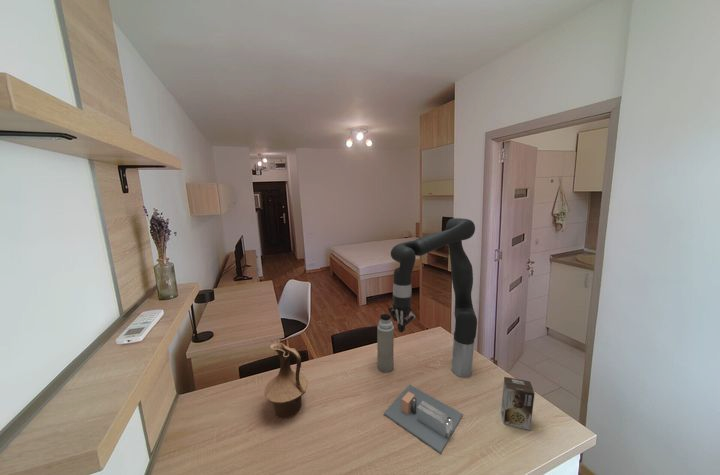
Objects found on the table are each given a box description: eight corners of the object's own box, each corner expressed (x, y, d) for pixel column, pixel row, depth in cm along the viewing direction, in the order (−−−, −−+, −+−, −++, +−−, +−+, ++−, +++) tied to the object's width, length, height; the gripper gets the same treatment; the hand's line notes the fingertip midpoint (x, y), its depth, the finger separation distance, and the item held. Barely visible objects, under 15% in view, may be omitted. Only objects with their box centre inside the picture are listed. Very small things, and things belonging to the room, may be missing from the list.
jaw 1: (419, 415, 104) (420, 403, 103) (422, 412, 106) (422, 400, 104) (450, 435, 96) (451, 422, 95) (452, 431, 97) (453, 418, 96)
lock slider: (401, 410, 106) (401, 399, 105) (408, 402, 110) (408, 391, 109) (407, 414, 104) (408, 403, 103) (414, 406, 108) (415, 395, 107)
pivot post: (410, 412, 106) (411, 399, 104) (413, 409, 107) (413, 396, 106) (414, 415, 104) (415, 401, 103) (417, 412, 106) (417, 399, 104)
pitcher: (317, 399, 114) (314, 340, 108) (292, 432, 99) (287, 366, 93) (285, 386, 121) (281, 331, 115) (257, 416, 106) (250, 354, 100)
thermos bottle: (393, 362, 136) (394, 312, 130) (392, 373, 128) (393, 320, 123) (378, 361, 138) (378, 311, 132) (376, 371, 130) (376, 319, 124)
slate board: (409, 386, 120) (409, 384, 120) (462, 415, 105) (462, 414, 105) (383, 414, 106) (383, 412, 106) (440, 454, 90) (440, 452, 90)
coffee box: (526, 416, 104) (530, 381, 101) (530, 431, 98) (535, 393, 95) (500, 410, 107) (504, 375, 104) (503, 424, 101) (507, 387, 98)
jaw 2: (416, 419, 102) (417, 407, 101) (419, 416, 104) (419, 404, 103) (448, 439, 94) (448, 426, 93) (450, 435, 96) (451, 422, 95)
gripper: (383, 291, 110) (383, 329, 114) (411, 300, 102) (410, 341, 105) (393, 286, 116) (393, 322, 119) (421, 294, 107) (419, 333, 111)
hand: (401, 331), depth 112 cm, fingers closed
